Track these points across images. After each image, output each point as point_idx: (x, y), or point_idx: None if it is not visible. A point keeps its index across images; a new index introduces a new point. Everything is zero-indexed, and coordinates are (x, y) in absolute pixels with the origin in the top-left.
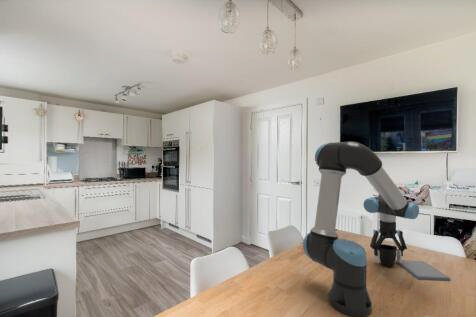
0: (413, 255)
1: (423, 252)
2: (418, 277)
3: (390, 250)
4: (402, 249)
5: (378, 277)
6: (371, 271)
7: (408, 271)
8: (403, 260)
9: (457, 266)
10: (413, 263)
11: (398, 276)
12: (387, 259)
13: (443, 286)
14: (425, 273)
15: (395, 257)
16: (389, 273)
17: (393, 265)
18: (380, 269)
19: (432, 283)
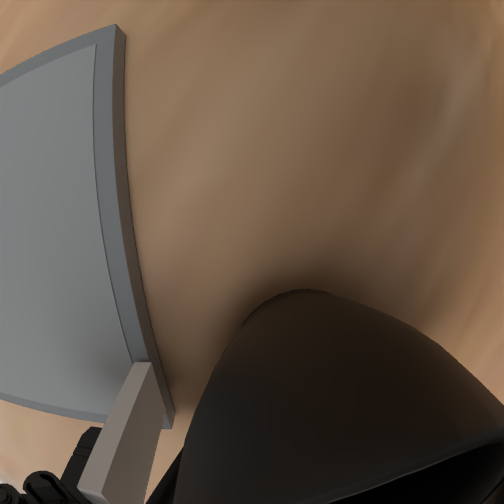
0: None
1: (13, 476)
2: (113, 28)
3: (452, 431)
4: (50, 501)
5: (477, 58)
6: (499, 161)
7: (125, 191)
8: (100, 420)
9: None
10: (33, 362)
11: (308, 57)
12: (379, 313)
13: (22, 10)
14: (6, 136)
15: (229, 366)
16: (377, 119)
17: (243, 325)
18: (427, 211)
19: (56, 16)
